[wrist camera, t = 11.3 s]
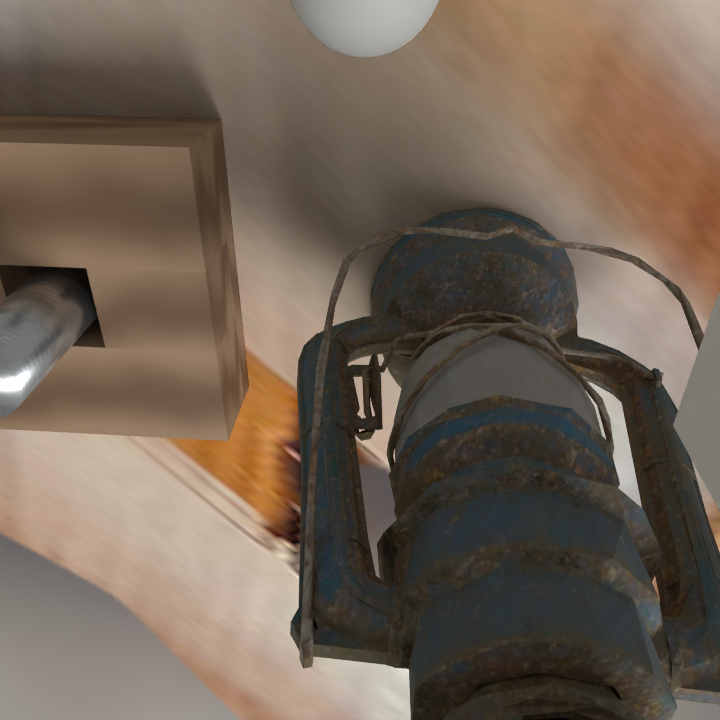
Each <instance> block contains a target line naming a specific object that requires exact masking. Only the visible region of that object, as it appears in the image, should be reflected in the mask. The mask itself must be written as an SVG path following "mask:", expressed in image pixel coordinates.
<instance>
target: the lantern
mask: <svg viewBox="0 0 720 720" xmlns="http://www.w3.org/2000/svg"><path fill="white" fill-rule="evenodd" d="M400 235H404V236H403V237H402V238H401V239H400V240H399V241H398V242H397V243H396V244H395V245H394V246H393V247H392V248H391V249H390V251H389V253H388V254H387V256H386V257H385V259H384V260H383V262H382V264H381V265H380V267H379V270H378V273H377V276H376V279H375V282H374V285H373V288H372V316H368V317H362V318H358V319H355V320H351V321H346V322H344V323H341V324H338V325H335V326H332V324H333V317H334V310H335V305H336V302H337V299H338V296H339V294H340V291H341V288H342V285H343V282H344V279H345V276H346V274H347V271H348V268H349V265H350V263H351V262H352V261H353V260H354V259H355V257H356V256H357V255H358V254H359V253H360V252H361V251H364V250H366V249H369V248H371V247H373V246H376V245H378V244H381V243H383V242H385V241H388V240H390V239H392V238H395V237H397V236H400ZM563 248H574V249H581V250H588V251H592V252H596V253H599V254H603V255H607V256H610V257H614V258H618V259H621V260H625V261H629V262H631V263H633V264H634V265H636V266H638V267H639V268H641V269H642V270H644V271H646V272H647V273H649V274H651V275H652V276H654V277H656V278H657V279H659V280H660V281H662V282H663V283H664V284H665V285H666V286H667V288H668V289H669V290H670V291H671V292H672V293H673V295H674V296H675V297H676V298H677V299H678V300H679V302H680V303H681V305H682V307H683V310H684V313H685V315H686V318H687V321H688V324H689V326H690V329H691V332H692V334H693V337H694V340H695V342H696V345H697V348H698V350H699V348H700V345H701V342H702V340H703V337H704V334H703V332H702V330H701V327H700V325H699V323H698V320H697V318H696V316H695V313H694V311H693V309H692V306H691V304H690V302H689V301H688V299H687V298H686V296H685V295H684V294H683V292H682V291H681V289H680V288H679V287H678V286H677V285H675V284H674V283H673V282H671V281H670V280H668V279H667V278H666V277H664V276H663V275H662V274H660V273H659V272H658V271H656V270H655V269H653V268H652V267H651V266H649V265H648V264H647V263H645V262H644V261H642V260H641V259H640V258H638V257H635V256H632V255H629V254H627V253H624V252H621V251H619V250H616V249H613V248H610V247H603V246H595V245H588V244H580V243H572V242H562V241H557V240H556V239H555V238H553V237H552V236H551V235H550V234H549V233H548V232H546V231H545V230H544V229H543V228H542V227H541V226H539V225H538V224H537V223H536V222H534V221H532V220H529V219H526V218H523V217H520V216H518V215H515V214H512V213H509V212H506V211H503V210H499V209H492V208H474V209H468V210H461V211H454V212H447V213H442V214H440V215H438V216H436V217H434V218H432V219H431V220H429V221H427V222H425V223H423V224H421V225H420V226H418V227H405V226H403V227H399V228H396V229H393V230H389V231H386V232H383V233H379V234H376V235H374V236H373V237H371V238H370V239H369V240H367V241H366V242H365V243H364V244H362V245H361V246H360V247H359V248H357V249H356V250H355V251H353V252H352V253H351V254H350V255H348V256H347V257H346V258H345V259H343V262H342V264H341V267H340V270H339V273H338V276H337V279H336V282H335V285H334V287H333V290H332V293H331V298H330V302H329V307H328V312H327V317H326V322H325V327H324V331H322V332H320V333H317V334H316V335H315V336H314V337H313V338H311V339H310V340H309V341H308V342H307V343H306V344H305V345H304V347H303V350H302V352H301V355H300V358H299V361H298V376H297V392H298V413H299V434H300V455H301V476H302V477H301V524H300V571H299V608H298V610H297V612H296V614H295V615H294V617H293V619H292V621H291V632H290V634H291V636H292V638H293V640H294V642H295V643H296V645H297V647H298V649H299V651H300V662H301V664H302V667H303V668H309V667H312V664H313V657H314V656H315V657H323V658H332V659H341V660H350V661H358V662H367V663H376V664H385V665H388V666H392V667H394V668H406V669H409V680H410V707H411V720H671V719H672V716H673V715H674V712H675V711H676V709H677V705H676V702H675V700H674V699H679V700H687V701H695V702H703V703H711V704H719V705H720V553H719V550H718V547H717V544H716V541H715V538H714V535H713V532H712V530H711V527H710V524H709V521H708V517H707V514H706V511H705V508H704V504H703V500H702V497H701V493H700V489H699V486H698V482H697V479H696V475H695V471H694V468H693V464H692V461H691V458H690V456H689V454H688V452H687V450H686V448H685V447H684V445H683V443H682V441H681V439H680V437H679V435H678V434H677V432H676V430H675V428H674V426H673V424H674V421H675V418H676V415H677V412H678V410H677V408H676V406H675V405H674V403H673V401H672V399H671V398H670V396H669V394H668V393H667V391H666V389H665V388H664V386H663V384H662V376H663V374H664V373H662V372H660V371H659V369H655V368H654V369H653V370H652V371H651V370H649V369H648V368H646V367H645V366H644V365H642V364H640V363H639V362H637V361H635V360H634V359H632V358H630V357H629V356H627V355H626V354H624V353H622V352H620V351H619V350H616V349H613V348H611V347H608V346H606V345H603V344H601V343H598V342H595V341H593V340H589V339H585V338H580V337H578V335H577V319H576V315H577V310H578V306H579V303H578V296H577V288H576V280H575V275H574V270H573V267H572V264H571V262H570V260H569V258H568V256H567V254H566V251H565V250H564V249H563ZM377 354H383V357H384V362H383V364H382V366H379V362H378V357H377ZM371 355H372V356H371ZM365 356H371V359H370V363H369V365H351V366H348V363H349V362H351V361H354V360H356V359H359V358H361V357H365ZM386 367H388V370H389V372H390V373H391V375H392V376H393V378H394V379H395V381H396V382H397V384H398V385H399V386H400V387H401V388H402V390H401V394H400V398H399V402H398V406H397V410H396V415H395V419H394V426H393V429H392V432H391V435H390V438H389V442H388V448H387V457H388V461H389V465H390V469H391V472H390V474H389V478H390V483H391V487H392V491H393V496H394V501H395V510H394V512H395V515H396V518H397V520H396V521H395V522H394V523H393V524H392V525H391V526H390V527H389V528H388V529H387V530H386V531H385V532H384V533H383V535H382V536H381V538H380V540H379V542H378V543H377V549H378V561H379V574H380V579H379V578H378V577H377V576H376V574H375V569H374V565H373V560H372V555H371V550H370V545H369V540H368V534H367V526H366V518H365V510H364V502H363V494H362V486H361V479H360V471H359V463H358V455H357V447H356V439H355V435H356V436H357V437H358V438H359V439H360V440H361V441H362V440H367V439H371V437H372V435H373V434H374V432H375V430H381V429H383V426H382V398H381V374H380V372H384V371H385V369H386ZM361 376H362V378H363V401H364V414H365V416H366V418H363V419H362V418H361V417H359V416H358V415H357V413H358V411H359V408H360V407H359V402H358V398H357V393H356V388H355V384H354V379H353V377H361ZM369 379H370V380H369ZM587 381H588V382H591V383H593V384H595V385H597V386H599V387H601V388H602V389H604V390H606V391H608V392H610V393H611V394H613V395H614V396H615V397H616V398H617V399H618V400H619V401H621V402H622V406H623V411H624V417H625V422H626V427H627V432H628V437H629V442H630V447H631V453H632V458H633V463H634V468H635V473H636V478H637V483H638V489H639V494H640V499H641V504H642V508H641V507H640V506H639V505H637V504H636V503H635V502H634V501H633V500H632V499H630V498H629V497H628V496H627V495H626V494H624V493H623V492H622V491H621V490H620V489H619V488H618V486H619V485H620V483H619V479H618V475H617V472H616V468H615V464H614V461H613V457H612V456H613V451H614V444H613V438H612V431H611V424H610V418H609V415H608V413H607V410H606V407H605V405H604V402H603V399H602V398H601V397H600V396H599V394H598V393H597V392H596V391H595V390H594V389H593V388H592V387H591V386H590V385H589V383H588V382H587ZM585 390H586V391H587V392H588V394H589V395H590V396H591V398H592V399H593V400H594V402H595V403H596V404H597V406H598V409H599V413H600V417H601V421H602V424H603V428H604V432H605V435H606V439H607V440H606V439H605V438H603V437H602V434H601V430H600V426H599V422H598V419H597V415H596V411H595V407H594V405H593V403H592V402H591V400H590V398H589V396H588V395H587V393H586V391H585ZM370 398H371V401H372V405H373V409H374V412H375V416H373V417H372V413H371V407H370ZM359 429H366V430H363V431H361V432H359ZM394 449H395V462H394V459H393V454H394ZM654 576H655V577H656V582H657V587H658V592H659V596H660V603H659V597H658V595H657V593H656V591H655V588H654V586H653V584H652V580H653V578H654ZM313 632H314V633H313Z"/></svg>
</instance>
